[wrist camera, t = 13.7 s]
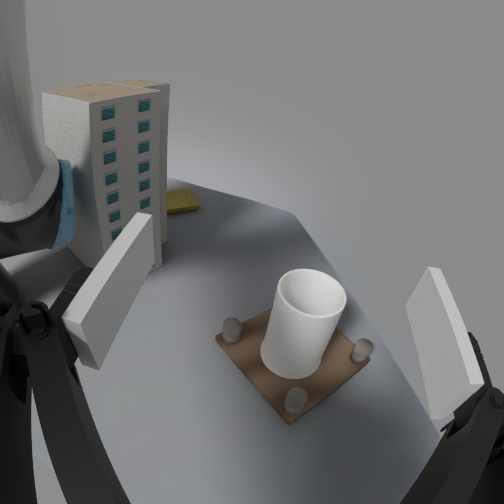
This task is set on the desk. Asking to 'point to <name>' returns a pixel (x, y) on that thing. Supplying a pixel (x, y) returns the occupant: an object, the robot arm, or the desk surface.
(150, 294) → the desk surface
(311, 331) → the mug
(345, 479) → the desk surface
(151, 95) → the building model
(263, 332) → the board with corner pegs
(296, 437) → the desk surface
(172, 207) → the yellow square slab
